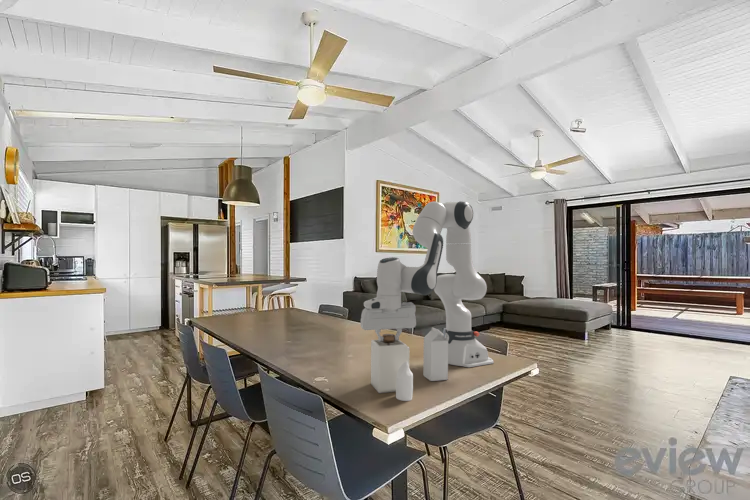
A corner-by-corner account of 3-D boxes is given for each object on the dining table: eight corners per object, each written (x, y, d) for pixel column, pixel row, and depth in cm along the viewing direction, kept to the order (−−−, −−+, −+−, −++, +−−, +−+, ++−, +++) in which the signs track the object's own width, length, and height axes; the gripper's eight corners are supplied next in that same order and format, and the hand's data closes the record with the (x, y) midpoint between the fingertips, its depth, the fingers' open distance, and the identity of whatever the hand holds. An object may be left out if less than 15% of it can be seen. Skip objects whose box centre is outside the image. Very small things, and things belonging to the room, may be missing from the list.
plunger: (394, 374, 140) (395, 332, 140) (402, 381, 132) (402, 336, 132) (374, 375, 137) (374, 333, 138) (380, 383, 130) (381, 337, 130)
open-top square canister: (403, 380, 142) (403, 338, 142) (413, 389, 132) (414, 344, 132) (370, 383, 138) (371, 340, 138) (378, 393, 128) (379, 346, 129)
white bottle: (392, 360, 126) (406, 358, 129) (392, 396, 126) (406, 393, 129) (402, 364, 121) (417, 362, 124) (402, 402, 121) (416, 399, 123)
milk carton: (430, 381, 141) (431, 330, 141) (423, 375, 148) (423, 327, 148) (448, 380, 143) (448, 330, 143) (439, 374, 150) (440, 326, 150)
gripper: (412, 300, 141) (412, 337, 141) (359, 302, 135) (359, 340, 135) (419, 303, 135) (418, 341, 135) (364, 304, 129) (363, 344, 129)
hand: (388, 341), depth 135 cm, fingers closed on plunger, 4 cm apart
